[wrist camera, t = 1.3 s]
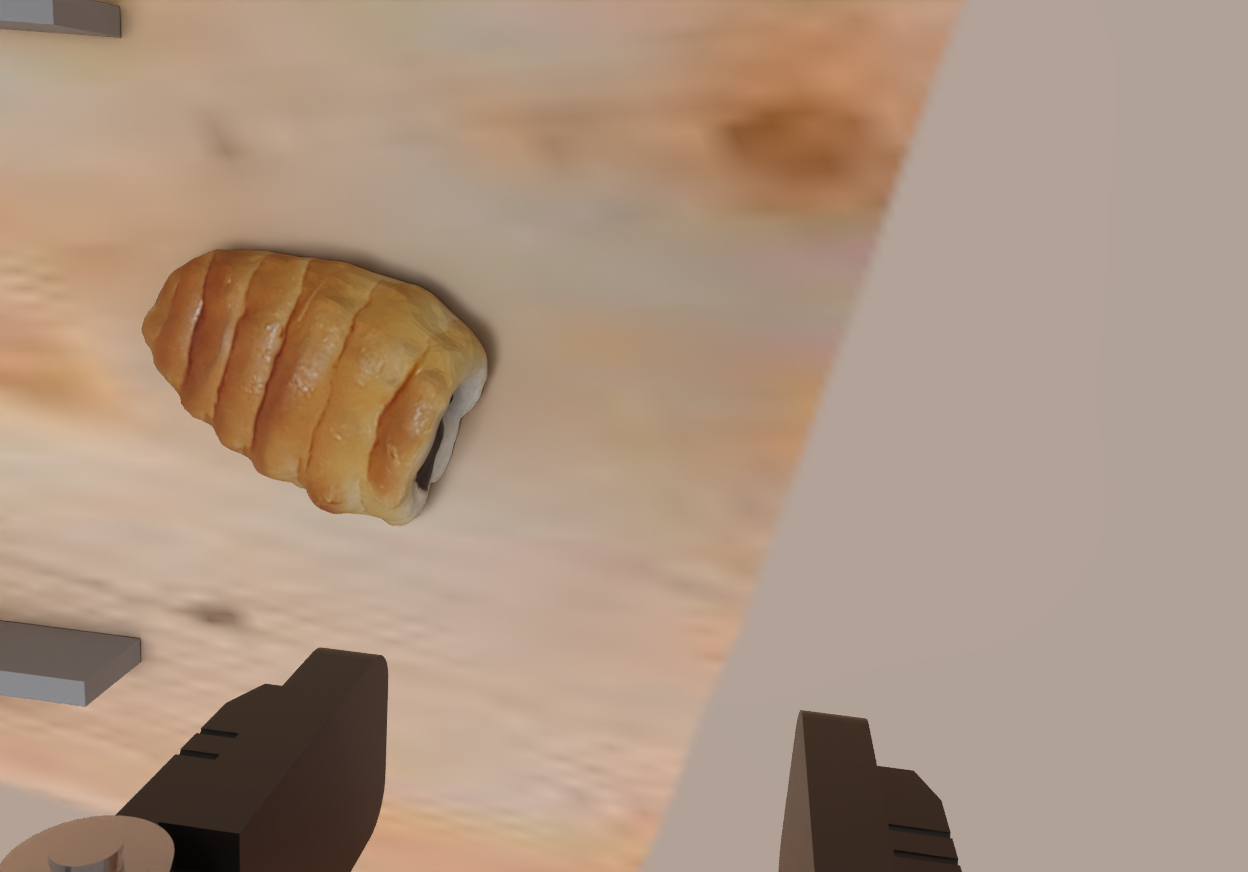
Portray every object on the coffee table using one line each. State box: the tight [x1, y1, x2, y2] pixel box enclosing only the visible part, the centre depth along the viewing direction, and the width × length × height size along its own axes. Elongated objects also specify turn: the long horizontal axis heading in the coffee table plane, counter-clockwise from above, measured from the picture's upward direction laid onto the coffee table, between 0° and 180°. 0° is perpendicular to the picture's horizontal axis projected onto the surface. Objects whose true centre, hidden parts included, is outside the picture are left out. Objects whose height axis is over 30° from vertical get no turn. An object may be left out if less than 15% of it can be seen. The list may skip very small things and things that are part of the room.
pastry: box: [142, 249, 487, 526], centre depth 30 cm, size 9×7×4 cm
